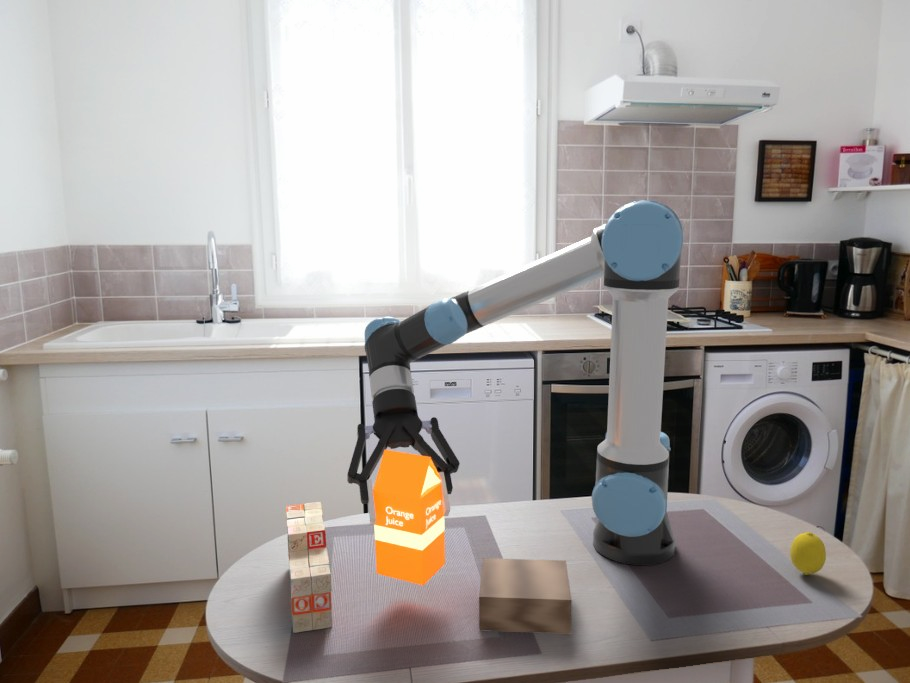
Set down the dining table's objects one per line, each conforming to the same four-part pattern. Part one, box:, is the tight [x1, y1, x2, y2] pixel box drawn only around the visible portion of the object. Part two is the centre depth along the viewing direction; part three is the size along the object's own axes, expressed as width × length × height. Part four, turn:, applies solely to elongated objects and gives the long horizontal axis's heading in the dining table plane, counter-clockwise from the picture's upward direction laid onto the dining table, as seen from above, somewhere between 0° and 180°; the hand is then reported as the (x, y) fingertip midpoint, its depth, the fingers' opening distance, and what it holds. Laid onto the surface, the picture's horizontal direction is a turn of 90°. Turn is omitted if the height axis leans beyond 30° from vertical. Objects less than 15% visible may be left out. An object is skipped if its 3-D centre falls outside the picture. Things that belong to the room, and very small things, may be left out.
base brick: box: [478, 557, 573, 635], centre depth 113 cm, size 14×12×6 cm
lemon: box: [789, 531, 827, 576], centre depth 122 cm, size 6×6×8 cm
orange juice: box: [373, 449, 446, 586], centre depth 113 cm, size 8×9×20 cm
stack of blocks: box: [285, 501, 333, 634], centre depth 118 cm, size 21×6×12 cm, turn 14°
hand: (410, 517), depth 111 cm, fingers closed on orange juice, 11 cm apart
